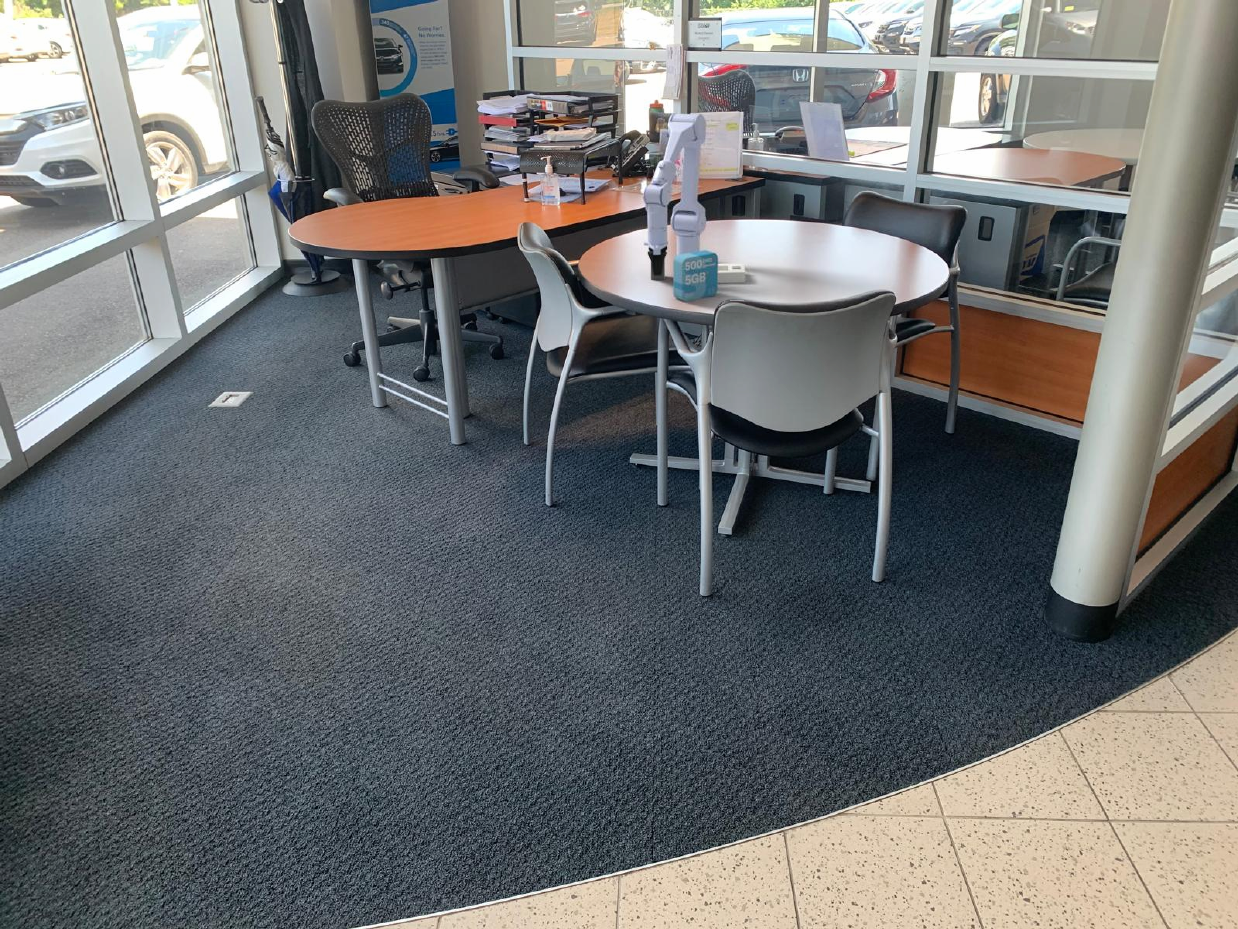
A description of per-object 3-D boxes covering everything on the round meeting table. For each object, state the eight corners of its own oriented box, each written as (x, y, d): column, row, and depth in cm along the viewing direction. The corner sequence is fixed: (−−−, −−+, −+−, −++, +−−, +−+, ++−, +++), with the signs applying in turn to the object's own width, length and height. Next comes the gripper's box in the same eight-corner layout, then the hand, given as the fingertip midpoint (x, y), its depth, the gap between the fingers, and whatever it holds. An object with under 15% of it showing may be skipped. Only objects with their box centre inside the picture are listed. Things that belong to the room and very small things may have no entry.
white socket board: (683, 273, 274) (683, 263, 272) (743, 273, 272) (743, 262, 271) (683, 283, 265) (683, 272, 263) (745, 282, 263) (745, 271, 262)
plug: (651, 276, 273) (651, 257, 270) (664, 275, 272) (664, 257, 270) (650, 279, 269) (650, 261, 266) (664, 279, 269) (664, 261, 266)
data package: (682, 302, 248) (682, 258, 242) (672, 298, 251) (672, 255, 246) (717, 295, 253) (718, 252, 248) (707, 291, 256) (708, 248, 251)
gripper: (644, 221, 271) (645, 266, 277) (642, 232, 258) (643, 279, 264) (668, 221, 270) (668, 266, 276) (667, 232, 257) (667, 279, 263)
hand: (657, 273), depth 270 cm, fingers closed on plug, 4 cm apart
